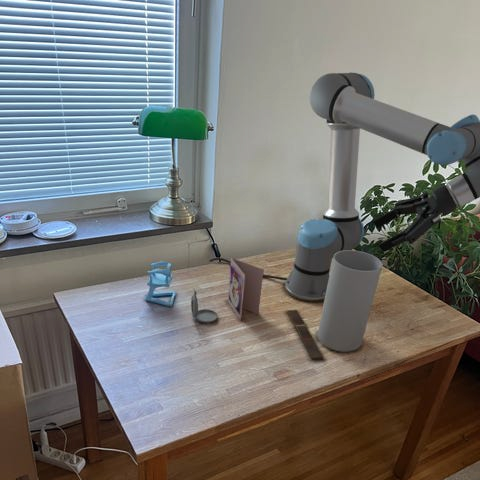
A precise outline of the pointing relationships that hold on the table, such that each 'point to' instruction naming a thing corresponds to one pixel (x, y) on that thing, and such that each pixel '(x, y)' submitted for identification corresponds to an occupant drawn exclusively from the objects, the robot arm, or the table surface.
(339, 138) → the robot arm
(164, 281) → the chair
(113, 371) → the table surface
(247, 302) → the greeting card
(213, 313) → the pocket watch
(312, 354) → the ruler
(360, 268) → the cylinder vase
